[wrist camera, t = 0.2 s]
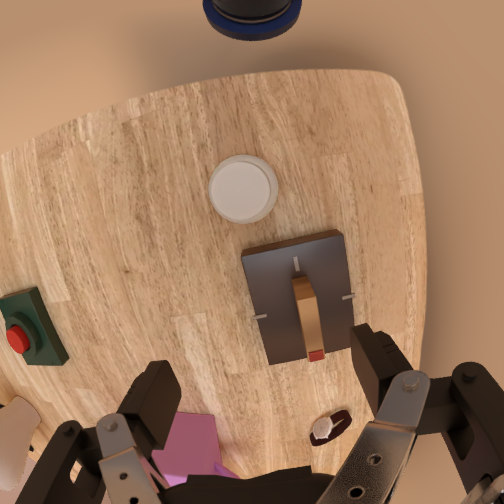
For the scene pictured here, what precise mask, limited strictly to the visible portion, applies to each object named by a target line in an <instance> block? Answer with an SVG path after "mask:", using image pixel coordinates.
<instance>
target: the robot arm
mask: <svg viewBox="0 0 504 504" xmlns="http://www.w3.org/2000/svg"><path fill="white" fill-rule="evenodd" d="M291 1H292V0H212V3H213V6H214V8H215V10H216V11H217V13H218V14H219V15H220V16H221V17H223V18H224V19H226V20H228V21H230V22H233V23H237V24H241V25H261V24H266V23H269V22H272V21H275V20H277V19H278V18H280V17H282V16H283V15H284V14H285V13H286V12H287V11H288V9H289V8H290V5H291ZM350 342H351V355H352V362H353V366H354V369H355V372H356V374H357V377H358V379H359V381H360V384H361V386H362V388H363V391H364V393H365V396H366V398H367V400H368V403H369V405H370V408H371V410H372V413H373V415H374V418H375V419H374V421H373V422H372V421H369V422H368V423H367V424H366V426H365V427H364V429H363V431H362V433H361V435H360V436H359V438H358V440H357V442H356V443H355V445H354V447H353V448H352V450H351V452H350V453H349V455H348V457H347V458H346V460H345V462H344V463H343V465H342V466H341V468H340V469H339V471H338V472H337V474H336V476H334V475H330V474H324V473H312V470H311V465H309V466H303V467H297V468H290V469H283V470H278V471H275V472H271V473H268V474H265V475H262V476H258V477H255V478H251V479H237V478H231V477H226V476H220V475H193V474H188V476H187V480H186V482H184V483H180V484H177V485H174V486H170V485H169V483H168V481H167V480H166V478H165V476H164V475H163V473H162V471H161V469H160V467H159V466H158V464H157V462H156V460H155V458H154V457H153V456H152V451H153V450H164V447H165V444H166V441H167V438H168V435H169V432H170V429H171V426H172V423H173V420H174V417H175V414H176V411H177V408H178V405H179V402H180V399H181V388H180V385H179V383H178V381H177V379H176V376H175V374H174V372H173V370H172V368H171V366H170V364H169V362H168V361H167V360H160V361H151V362H150V363H149V364H148V366H147V368H146V370H145V372H142V373H141V374H140V375H139V376H138V377H137V378H136V379H135V380H134V382H133V383H132V385H131V388H130V389H129V390H128V392H127V393H128V394H126V396H125V398H124V399H123V401H122V403H121V405H120V407H119V408H118V410H117V412H116V413H112V414H108V415H106V416H104V417H103V418H101V419H100V420H99V421H98V423H97V425H96V427H91V428H85V429H83V427H82V426H81V425H80V423H79V422H78V421H75V420H70V421H67V422H64V423H63V424H61V425H60V426H59V427H58V428H57V430H56V432H55V433H54V435H53V436H52V438H51V440H50V441H49V443H48V445H47V446H46V448H45V450H44V452H43V453H42V455H41V457H40V458H39V460H38V462H37V464H36V465H35V467H34V469H33V471H32V473H31V474H30V476H29V478H28V480H27V482H26V483H25V485H24V487H23V489H22V491H21V493H20V495H19V497H18V499H17V501H16V503H15V504H101V502H102V499H103V497H104V494H105V491H106V489H107V492H108V495H109V498H110V500H111V503H112V504H389V503H390V501H391V499H392V497H393V495H394V494H395V491H396V489H397V487H398V485H399V483H400V480H401V478H402V475H403V473H404V471H405V468H406V466H407V463H408V461H409V459H410V456H411V454H412V451H413V448H414V446H415V444H416V440H417V438H418V435H425V434H432V433H439V432H441V434H442V437H443V439H444V441H445V443H446V445H447V447H448V450H449V452H450V454H451V456H452V459H453V461H454V463H455V465H456V468H457V470H458V473H459V475H460V478H461V480H462V483H463V485H464V488H465V490H466V493H467V496H466V498H465V499H464V500H463V501H462V502H461V504H504V391H503V390H502V389H501V387H500V386H499V385H498V383H497V382H496V381H495V380H494V378H493V377H492V376H491V375H490V373H489V372H488V371H487V370H486V369H485V367H484V366H482V365H481V364H479V363H476V362H465V363H461V364H459V365H458V366H457V367H456V368H455V369H454V370H453V373H452V376H450V377H443V378H436V379H432V378H429V377H428V376H427V375H426V374H425V373H423V372H421V371H417V370H414V369H413V368H412V366H411V365H410V363H409V362H408V361H407V359H406V358H405V356H404V355H403V353H402V352H401V351H400V350H399V348H398V346H397V345H396V344H395V342H394V341H393V339H392V338H391V336H390V335H388V334H386V333H384V332H382V331H378V332H375V333H374V332H373V331H372V329H371V328H370V326H369V325H368V324H367V323H364V324H361V325H357V326H353V327H350ZM75 461H77V462H78V463H79V464H80V465H81V466H82V467H81V470H80V472H79V474H78V476H77V478H76V481H75V483H72V481H71V479H70V471H71V469H72V467H73V465H74V463H75Z"/></svg>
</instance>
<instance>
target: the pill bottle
mask: <svg viewBox="0 0 504 504" xmlns="http://www.w3.org/2000/svg"><path fill="white" fill-rule="evenodd" d="M208 192H209V198H210V201H211V203H212V205H213V207H214V209H215V210H216V211H217V213H218V214H219V215H221V216H222V217H223V218H225V219H226V220H228V221H230V222H233V223H237V224H250V223H254V222H257V221H259V220H261V219H262V218H264V217H265V216H266V215H268V214H269V213H270V211H271V210H272V209H273V207H274V205H275V203H276V201H277V198H278V193H279V185H278V180H277V177H276V174H275V172H274V171H273V169H272V168H271V166H270V165H269V164H268V163H267V162H265V161H264V160H262V159H261V158H259V157H256V156H253V155H247V154H240V155H234V156H231V157H229V158H227V159H225V160H224V161H222V162H221V163H220V164H219V165H218V166H217V167H216V168H215V170H214V171H213V173H212V175H211V178H210V181H209V187H208Z"/></svg>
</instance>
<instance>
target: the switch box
mask: <svg viewBox="0 0 504 504" xmlns="http://www.w3.org/2000/svg"><path fill="white" fill-rule="evenodd" d="M0 310H1V312H2V314H3V317H4V319H5V321H6V323H5V326H6V331H8V330H9V329H10V328H11V327H13V326H14V325H18V326H19V327H21V328H22V330H23V331H24V332H25V333H26V335H27V337H28V339H29V341H30V347H29V348H28V349H27V350H26V351H25V352H24V353H22V356H23V358H24V359H25V361H26V363H27V365H47V366H63V365H64V364H65V363H66V361H67V360H68V359H69V356H68V355H67V353H66V351H65V349H64V347H63V345H62V343H61V341H60V339H59V337H58V335H57V333H56V331H55V328H54V326H53V324H52V322H51V320H50V317H49V315H48V313H47V311H46V308H45V306H44V303H43V301H42V298H41V296H40V293H39V291H38V288H37V287H33V288H29V289H26V290H22V291H18V292H15V293H11V294H8V295H4V296H3V297H1V298H0Z"/></svg>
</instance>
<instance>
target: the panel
mask: <svg viewBox="0 0 504 504" xmlns="http://www.w3.org/2000/svg"><path fill="white" fill-rule="evenodd" d="M241 260H242V264H243V268H244V272H245V275H246V279H247V283H248V287H249V291H250V295H251V298H252V302H253V306H254V310H255V314H256V315H255V316H252V317H253V320H254V319H257V321H258V325H259V329H260V332H261V336H262V340H263V344H264V347H265V351H266V355H267V358H268V362H269V365H274V364H279V363H285V362H290V361H295V360H299V359H304V358H307V354H306V350H305V345H304V341H303V337H302V332H301V327H300V321H299V316H298V311H297V306H296V301H295V296H294V291H293V286H292V281H291V280H292V279H295V278H300V277H304V276H307V277H308V279H309V281H310V284H311V286H312V288H313V291H314V293H315V295H316V299H317V305H318V312H319V318H320V324H321V331H322V338H323V345H324V352H325V354H326V353H330V352H334V351H338V350H342V349H346V348H350V347H351V342H350V327H353V326H354V314H353V304H352V297H355V293H353V294H351V286H350V278H349V270H348V263H347V256H346V249H345V242H344V236H343V234H342V233H341V232H340V231H338V230H337V229H335V230H331V231H326V232H322V233H317V234H313V235H308V236H304V237H299V238H295V239H290V240H286V241H281V242H277V243H272V244H268V245H263V246H259V247H254V248H250V249H245V250H242V254H241Z"/></svg>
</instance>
